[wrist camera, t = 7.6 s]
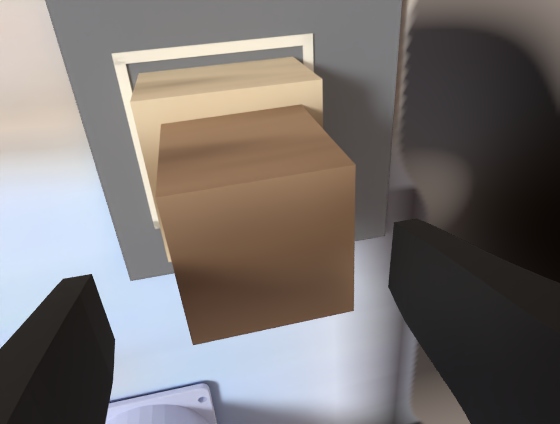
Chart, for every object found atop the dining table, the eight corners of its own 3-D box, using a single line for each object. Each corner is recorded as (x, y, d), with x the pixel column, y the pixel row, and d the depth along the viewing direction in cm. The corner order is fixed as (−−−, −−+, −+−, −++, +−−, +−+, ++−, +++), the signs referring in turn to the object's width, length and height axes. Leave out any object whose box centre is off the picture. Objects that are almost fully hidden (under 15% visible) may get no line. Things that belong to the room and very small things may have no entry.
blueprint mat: (380, 230, 23) (385, 236, 23) (131, 274, 21) (130, 282, 21) (400, -54, 17) (407, -54, 16) (40, -28, 15) (35, -28, 14)
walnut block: (306, 221, 16) (353, 310, 12) (187, 242, 16) (192, 345, 12) (300, 104, 14) (355, 164, 10) (160, 123, 13) (155, 197, 9)
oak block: (299, 189, 20) (324, 235, 17) (169, 210, 19) (168, 262, 16) (293, 56, 17) (322, 78, 14) (138, 73, 16) (130, 101, 13)
